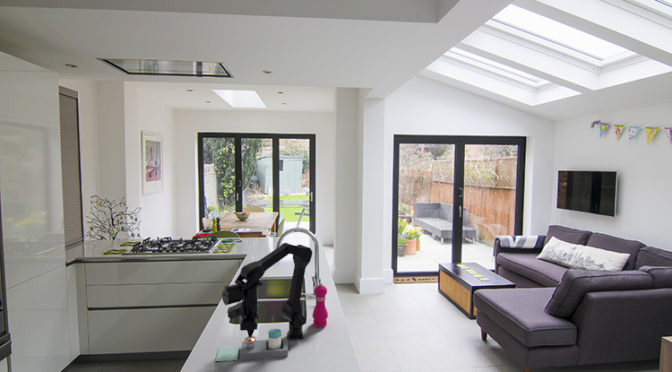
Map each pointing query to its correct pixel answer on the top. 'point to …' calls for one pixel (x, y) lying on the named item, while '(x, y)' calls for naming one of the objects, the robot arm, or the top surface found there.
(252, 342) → the plunger
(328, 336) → the top surface
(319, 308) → the pepper mill
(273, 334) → the cylinder
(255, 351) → the housing
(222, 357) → the mat
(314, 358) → the top surface
